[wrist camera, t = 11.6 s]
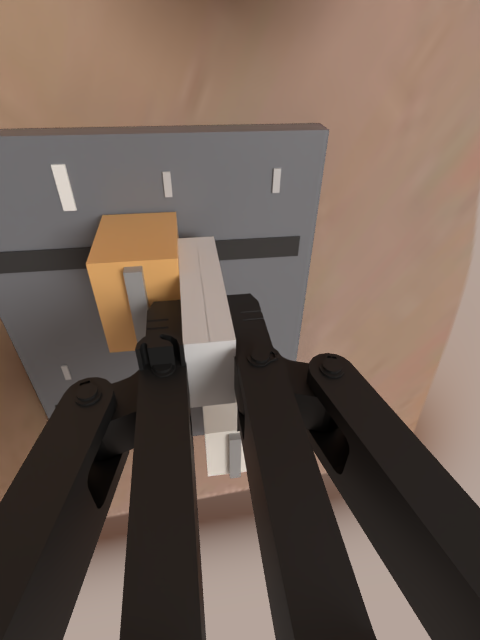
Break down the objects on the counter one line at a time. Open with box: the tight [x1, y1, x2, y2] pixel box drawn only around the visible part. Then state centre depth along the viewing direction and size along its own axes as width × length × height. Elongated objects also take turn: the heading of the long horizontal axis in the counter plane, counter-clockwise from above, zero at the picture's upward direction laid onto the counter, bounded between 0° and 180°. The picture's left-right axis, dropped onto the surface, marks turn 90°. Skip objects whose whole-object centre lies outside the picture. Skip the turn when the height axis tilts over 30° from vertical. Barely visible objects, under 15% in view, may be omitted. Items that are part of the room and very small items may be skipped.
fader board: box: [0, 123, 329, 436], centre depth 21 cm, size 15×19×1 cm
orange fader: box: [86, 212, 181, 353], centre depth 15 cm, size 3×4×4 cm
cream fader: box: [202, 401, 247, 478], centre depth 22 cm, size 3×4×4 cm
